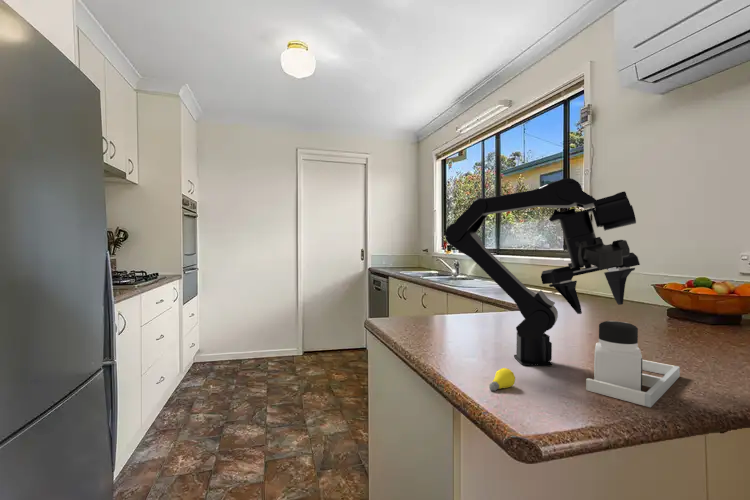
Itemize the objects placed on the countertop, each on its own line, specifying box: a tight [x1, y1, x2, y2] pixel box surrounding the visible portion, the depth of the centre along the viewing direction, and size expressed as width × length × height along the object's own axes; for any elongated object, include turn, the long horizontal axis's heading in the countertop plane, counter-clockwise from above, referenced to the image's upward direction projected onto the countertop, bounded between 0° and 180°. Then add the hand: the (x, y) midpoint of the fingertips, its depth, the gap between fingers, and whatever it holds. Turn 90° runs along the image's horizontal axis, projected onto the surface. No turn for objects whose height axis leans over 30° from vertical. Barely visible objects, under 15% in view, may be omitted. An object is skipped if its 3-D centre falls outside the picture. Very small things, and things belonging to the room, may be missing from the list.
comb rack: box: [585, 359, 681, 408], centre depth 71 cm, size 22×10×2 cm, turn 131°
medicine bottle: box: [593, 320, 643, 392], centre depth 69 cm, size 7×7×12 cm
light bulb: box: [488, 367, 516, 392], centre depth 68 cm, size 3×6×4 cm, turn 124°
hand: (600, 309), depth 77 cm, fingers open, 9 cm apart
